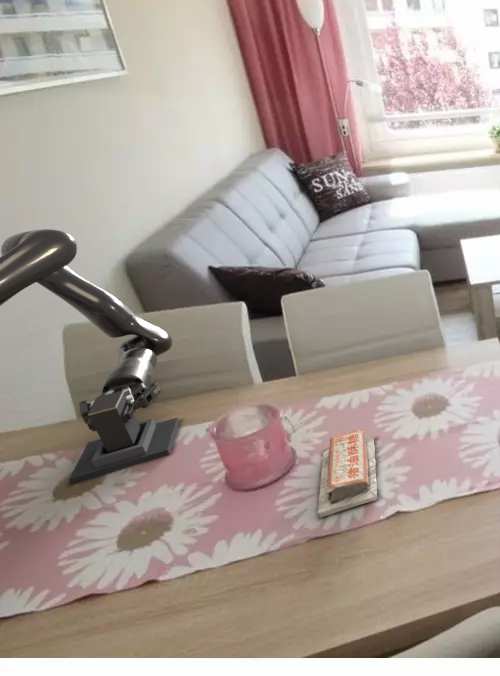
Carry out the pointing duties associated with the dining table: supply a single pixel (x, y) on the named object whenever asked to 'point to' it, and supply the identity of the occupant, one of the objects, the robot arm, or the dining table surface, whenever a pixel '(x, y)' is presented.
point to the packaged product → (347, 473)
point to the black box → (113, 421)
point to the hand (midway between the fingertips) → (109, 422)
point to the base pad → (127, 451)
